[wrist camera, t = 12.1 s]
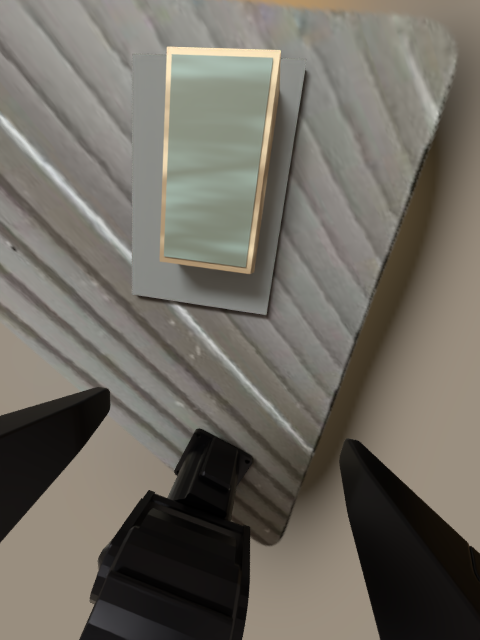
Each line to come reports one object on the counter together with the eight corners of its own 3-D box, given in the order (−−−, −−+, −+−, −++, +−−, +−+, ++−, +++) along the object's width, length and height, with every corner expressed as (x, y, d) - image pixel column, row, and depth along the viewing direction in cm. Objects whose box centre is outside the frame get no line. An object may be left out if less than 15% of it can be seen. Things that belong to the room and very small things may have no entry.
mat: (266, 313, 20) (266, 315, 19) (134, 293, 21) (131, 294, 21) (305, 64, 15) (306, 58, 15) (135, 58, 16) (132, 53, 16)
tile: (249, 274, 16) (280, 48, 12) (158, 261, 16) (166, 45, 13) (254, 272, 18) (279, 89, 15) (176, 261, 19) (186, 85, 16)
